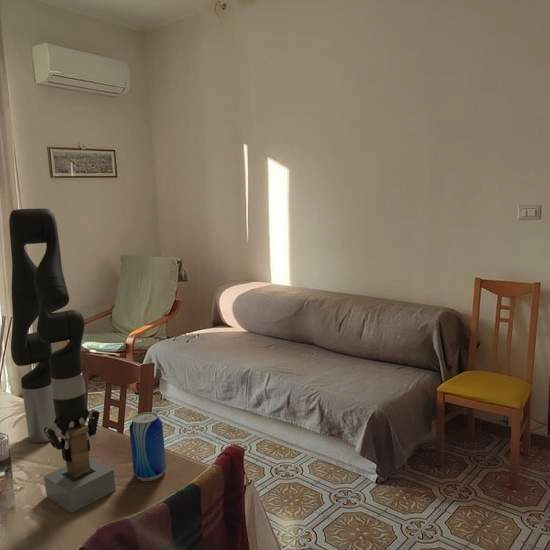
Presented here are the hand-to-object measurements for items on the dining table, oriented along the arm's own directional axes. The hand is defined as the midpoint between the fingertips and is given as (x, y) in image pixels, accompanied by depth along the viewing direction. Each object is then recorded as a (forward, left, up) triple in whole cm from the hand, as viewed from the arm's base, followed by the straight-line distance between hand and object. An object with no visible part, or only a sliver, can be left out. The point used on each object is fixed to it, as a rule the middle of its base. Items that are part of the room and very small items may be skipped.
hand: (76, 457), depth 133 cm
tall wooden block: (0, 0, -4) cm, 4 cm away
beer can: (+7, +16, -10) cm, 20 cm away
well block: (0, 0, -10) cm, 10 cm away
